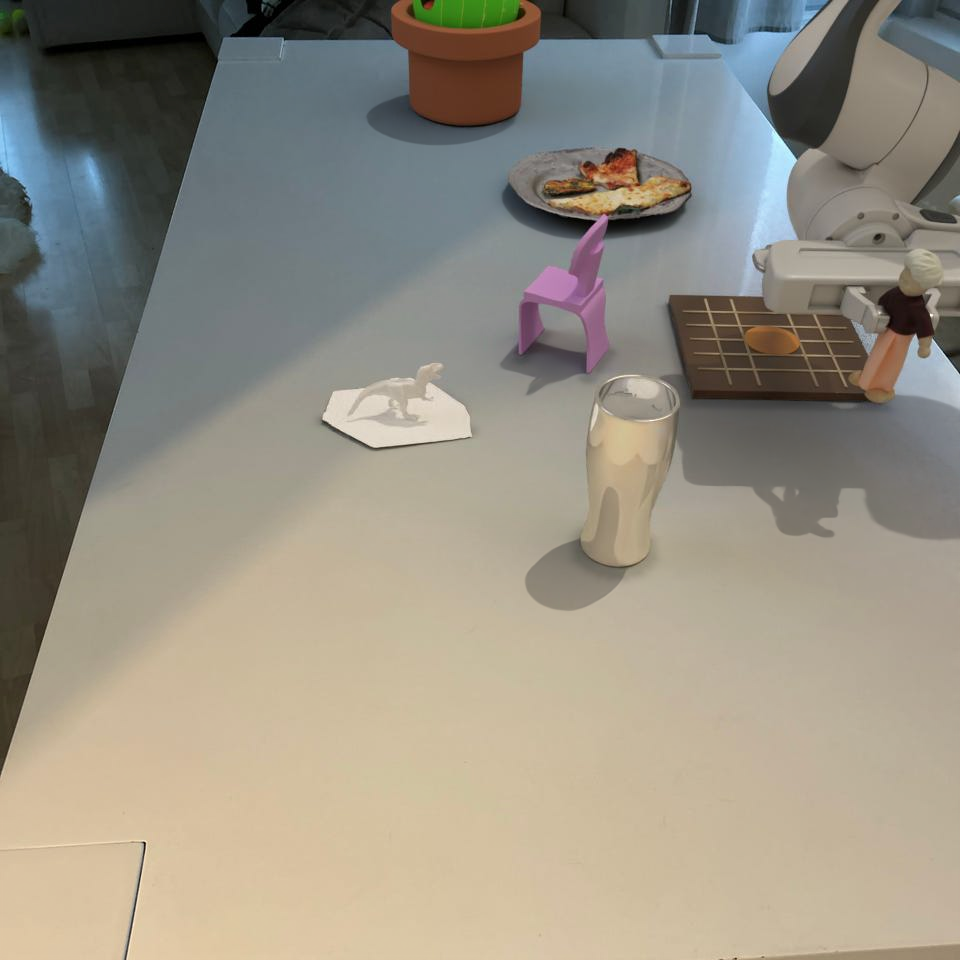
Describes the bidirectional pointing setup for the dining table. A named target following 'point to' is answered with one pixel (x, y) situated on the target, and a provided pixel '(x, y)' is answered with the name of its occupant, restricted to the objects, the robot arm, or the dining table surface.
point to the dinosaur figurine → (399, 411)
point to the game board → (765, 351)
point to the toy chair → (571, 295)
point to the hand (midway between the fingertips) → (903, 326)
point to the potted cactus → (465, 56)
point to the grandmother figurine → (901, 326)
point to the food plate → (600, 183)
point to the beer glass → (627, 464)
